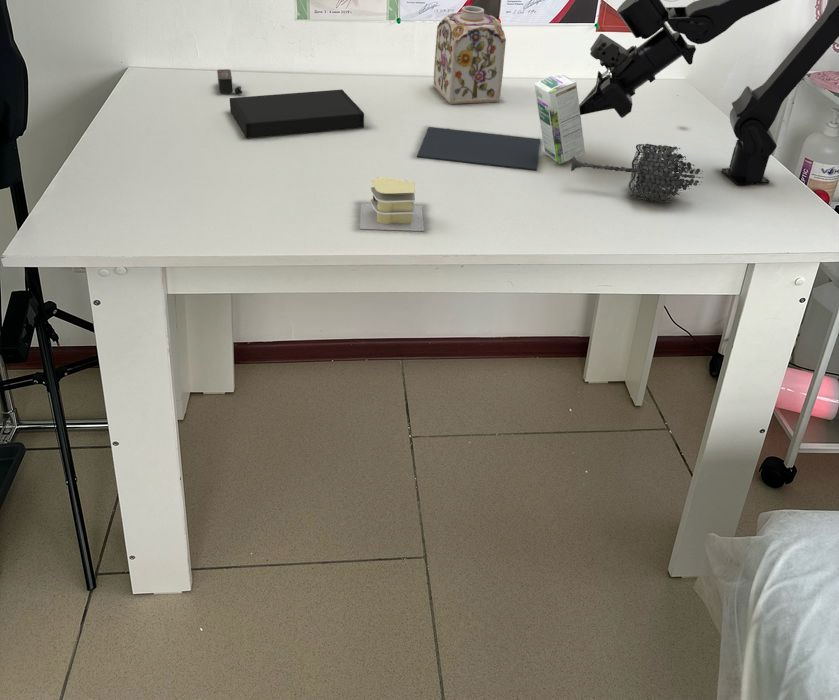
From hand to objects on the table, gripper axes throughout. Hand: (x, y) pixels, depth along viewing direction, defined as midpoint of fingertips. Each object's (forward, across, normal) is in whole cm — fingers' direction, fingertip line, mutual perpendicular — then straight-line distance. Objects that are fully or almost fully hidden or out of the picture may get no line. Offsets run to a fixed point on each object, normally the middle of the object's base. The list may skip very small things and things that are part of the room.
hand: (576, 112), depth 165 cm
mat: (+18, 0, -6) cm, 19 cm away
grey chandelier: (-2, +14, +14) cm, 20 cm away
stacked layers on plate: (+26, +33, -13) cm, 44 cm away
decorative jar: (+23, -30, -10) cm, 38 cm away
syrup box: (+6, 0, +5) cm, 8 cm away
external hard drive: (+44, -4, -31) cm, 55 cm away
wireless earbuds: (+57, -16, -44) cm, 74 cm away
